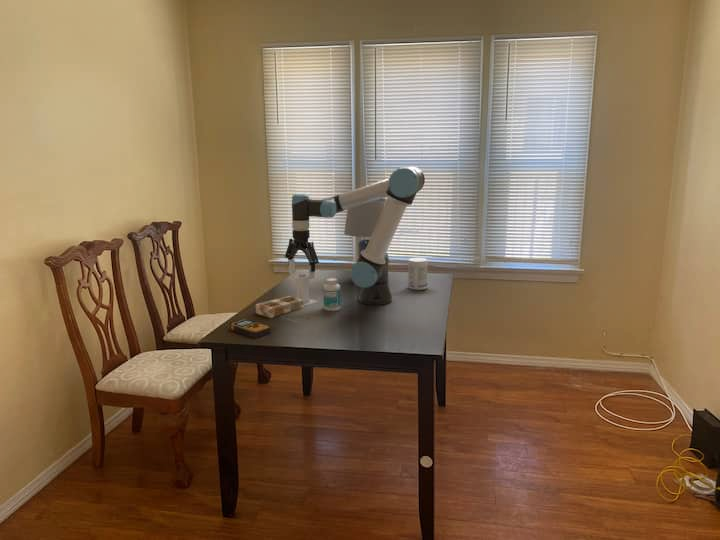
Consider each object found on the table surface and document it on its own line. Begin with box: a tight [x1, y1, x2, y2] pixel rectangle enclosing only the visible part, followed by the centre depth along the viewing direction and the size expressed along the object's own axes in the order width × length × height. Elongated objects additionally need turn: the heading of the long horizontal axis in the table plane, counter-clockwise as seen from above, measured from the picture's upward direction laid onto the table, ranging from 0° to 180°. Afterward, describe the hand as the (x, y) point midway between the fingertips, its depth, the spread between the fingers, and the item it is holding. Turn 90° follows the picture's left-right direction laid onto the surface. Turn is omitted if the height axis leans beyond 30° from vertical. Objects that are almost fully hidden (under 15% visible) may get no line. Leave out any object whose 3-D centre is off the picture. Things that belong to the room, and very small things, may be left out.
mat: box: [303, 298, 319, 307], centre depth 237 cm, size 10×10×1 cm
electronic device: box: [229, 318, 271, 339], centre depth 200 cm, size 8×16×3 cm, turn 50°
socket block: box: [255, 295, 304, 319], centre depth 224 cm, size 10×18×4 cm, turn 137°
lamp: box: [343, 198, 387, 258], centre depth 274 cm, size 25×25×43 cm
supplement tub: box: [407, 257, 428, 291], centre depth 260 cm, size 10×10×15 cm
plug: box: [295, 273, 310, 303], centre depth 235 cm, size 4×4×13 cm
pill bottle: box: [322, 277, 342, 312], centre depth 225 cm, size 8×7×14 cm
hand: (301, 276), depth 234 cm, fingers open, 13 cm apart
